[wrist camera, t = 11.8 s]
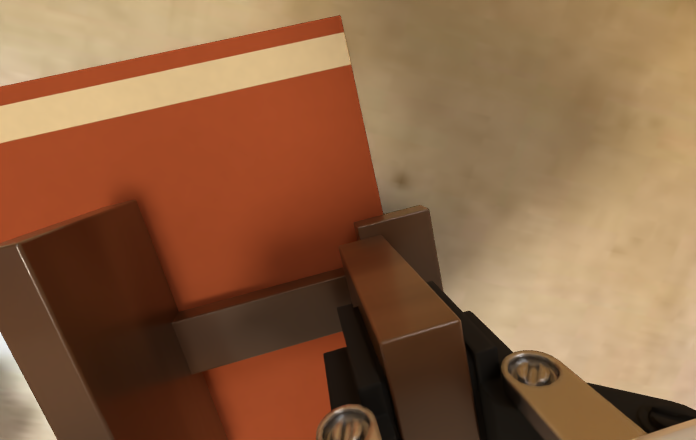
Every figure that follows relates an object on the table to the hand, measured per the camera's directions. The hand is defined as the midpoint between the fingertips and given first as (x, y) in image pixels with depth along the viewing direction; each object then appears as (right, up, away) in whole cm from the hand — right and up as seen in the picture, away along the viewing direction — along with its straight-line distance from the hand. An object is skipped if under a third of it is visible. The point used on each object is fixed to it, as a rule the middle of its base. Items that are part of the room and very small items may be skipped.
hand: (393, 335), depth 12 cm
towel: (-7, -1, +4) cm, 8 cm away
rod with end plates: (-3, 0, +4) cm, 5 cm away
